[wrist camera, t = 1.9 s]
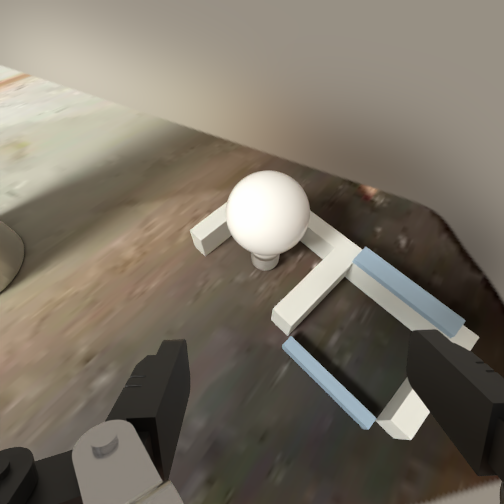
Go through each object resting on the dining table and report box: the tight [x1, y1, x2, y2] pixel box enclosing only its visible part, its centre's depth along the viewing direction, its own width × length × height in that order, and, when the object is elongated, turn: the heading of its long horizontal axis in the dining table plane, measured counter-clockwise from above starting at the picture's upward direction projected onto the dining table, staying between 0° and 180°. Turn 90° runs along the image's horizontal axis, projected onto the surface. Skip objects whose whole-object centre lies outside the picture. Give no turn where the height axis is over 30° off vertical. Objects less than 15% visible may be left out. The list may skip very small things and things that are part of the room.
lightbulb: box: [226, 170, 310, 271], centre depth 26 cm, size 6×6×11 cm
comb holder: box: [190, 202, 479, 440], centre depth 27 cm, size 23×11×4 cm, turn 44°
